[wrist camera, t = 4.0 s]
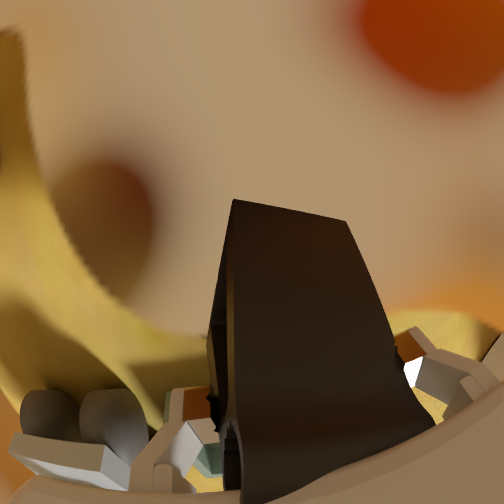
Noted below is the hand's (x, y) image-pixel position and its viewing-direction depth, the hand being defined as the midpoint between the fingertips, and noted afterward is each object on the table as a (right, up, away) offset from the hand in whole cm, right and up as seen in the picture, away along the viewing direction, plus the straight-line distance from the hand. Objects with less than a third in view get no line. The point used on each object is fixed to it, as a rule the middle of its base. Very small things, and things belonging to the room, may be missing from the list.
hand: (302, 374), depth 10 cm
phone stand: (-1, +3, +6) cm, 7 cm away
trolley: (-14, -11, +10) cm, 21 cm away
